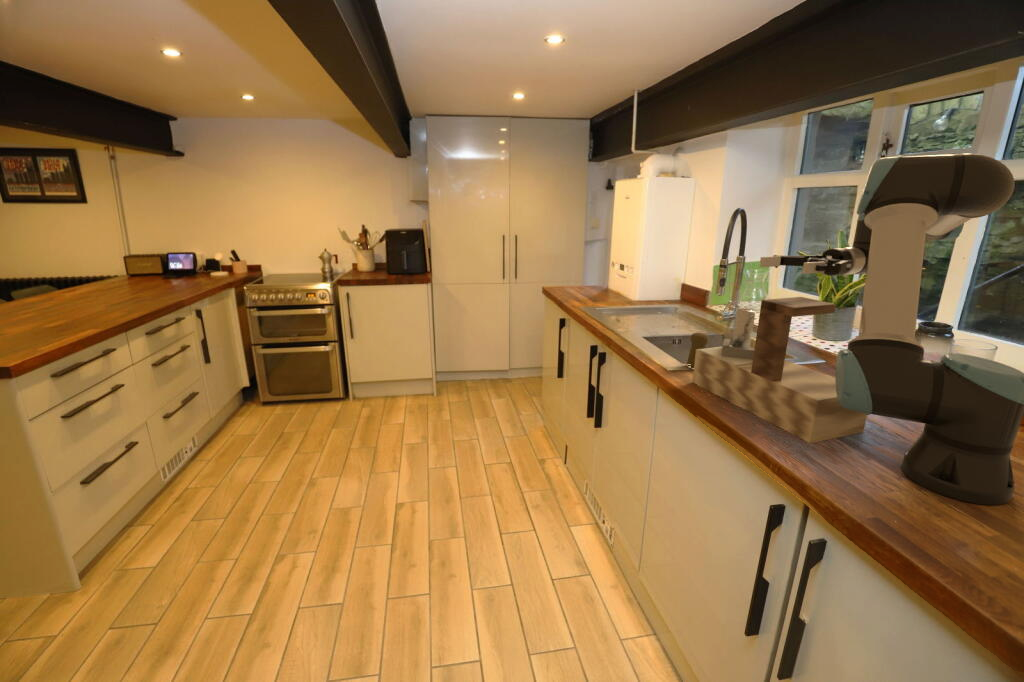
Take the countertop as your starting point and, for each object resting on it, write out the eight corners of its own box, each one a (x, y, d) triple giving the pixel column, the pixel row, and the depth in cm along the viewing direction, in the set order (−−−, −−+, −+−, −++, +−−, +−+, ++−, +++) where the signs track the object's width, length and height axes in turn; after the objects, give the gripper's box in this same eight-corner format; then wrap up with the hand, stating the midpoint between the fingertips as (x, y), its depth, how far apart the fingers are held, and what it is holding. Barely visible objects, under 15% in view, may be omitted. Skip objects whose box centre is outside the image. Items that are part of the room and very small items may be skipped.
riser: (863, 432, 106) (872, 390, 103) (809, 443, 101) (818, 400, 98) (736, 376, 141) (741, 344, 138) (692, 382, 136) (696, 349, 133)
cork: (703, 371, 145) (707, 337, 142) (683, 367, 148) (687, 333, 145) (708, 366, 149) (713, 332, 146) (689, 362, 153) (693, 329, 150)
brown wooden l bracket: (821, 379, 110) (836, 303, 105) (781, 385, 107) (795, 307, 102) (788, 367, 118) (800, 296, 113) (751, 372, 115) (761, 300, 110)
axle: (750, 356, 126) (757, 312, 122) (732, 354, 127) (739, 311, 123) (745, 351, 130) (753, 309, 126) (729, 350, 131) (735, 307, 127)
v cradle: (778, 360, 124) (780, 349, 123) (735, 366, 119) (737, 355, 119) (738, 345, 136) (739, 336, 136) (698, 350, 132) (699, 340, 131)
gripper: (884, 281, 120) (822, 286, 114) (799, 269, 143) (743, 273, 137) (890, 252, 118) (828, 255, 112) (803, 244, 141) (747, 246, 135)
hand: (781, 265), depth 124 cm, fingers open, 13 cm apart
